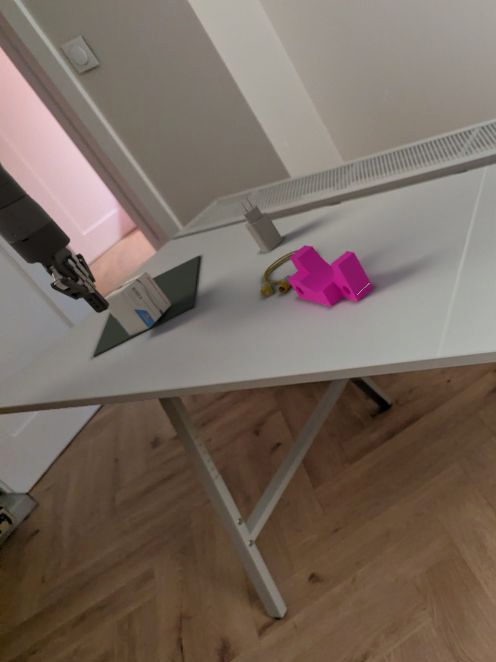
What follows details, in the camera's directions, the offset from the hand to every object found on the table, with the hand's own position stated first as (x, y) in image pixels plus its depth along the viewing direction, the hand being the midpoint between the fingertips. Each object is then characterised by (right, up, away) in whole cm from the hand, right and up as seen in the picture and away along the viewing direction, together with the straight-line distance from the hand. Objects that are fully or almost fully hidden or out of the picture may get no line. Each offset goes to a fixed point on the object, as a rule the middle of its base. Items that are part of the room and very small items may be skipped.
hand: (104, 309), depth 100 cm
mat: (-4, +3, +24) cm, 24 cm away
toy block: (+44, +2, -4) cm, 44 cm away
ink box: (+1, -1, +4) cm, 4 cm away
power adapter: (+23, +16, +25) cm, 37 cm away
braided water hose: (+31, +8, +10) cm, 33 cm away
